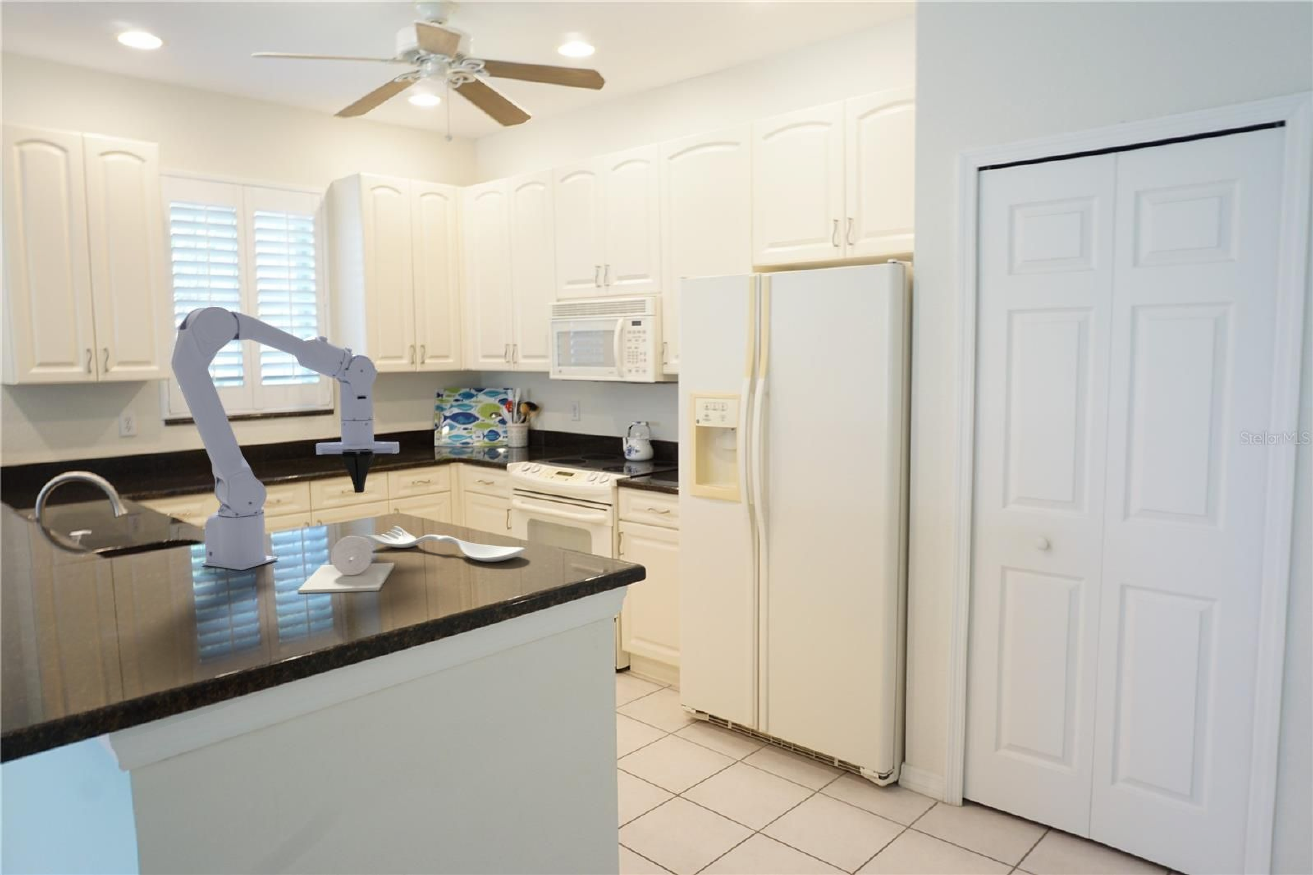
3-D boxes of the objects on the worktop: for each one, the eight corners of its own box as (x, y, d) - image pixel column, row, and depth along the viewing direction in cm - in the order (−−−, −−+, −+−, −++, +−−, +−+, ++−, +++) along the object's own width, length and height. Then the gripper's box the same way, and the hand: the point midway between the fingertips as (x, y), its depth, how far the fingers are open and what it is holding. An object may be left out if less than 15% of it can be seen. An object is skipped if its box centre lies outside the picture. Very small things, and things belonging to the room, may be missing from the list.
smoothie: (375, 568, 149) (362, 584, 135) (337, 561, 148) (320, 576, 134) (383, 532, 149) (371, 544, 135) (345, 525, 148) (330, 536, 134)
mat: (321, 567, 146) (321, 565, 146) (394, 565, 148) (394, 562, 148) (297, 593, 132) (297, 590, 132) (378, 590, 133) (378, 587, 133)
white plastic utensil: (395, 541, 168) (395, 523, 167) (534, 558, 154) (534, 540, 154) (362, 551, 160) (361, 532, 159) (505, 570, 146) (505, 550, 146)
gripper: (310, 421, 154) (313, 496, 156) (394, 421, 156) (396, 494, 158) (319, 418, 161) (322, 489, 163) (399, 417, 163) (401, 488, 165)
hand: (359, 491), depth 161 cm, fingers closed
